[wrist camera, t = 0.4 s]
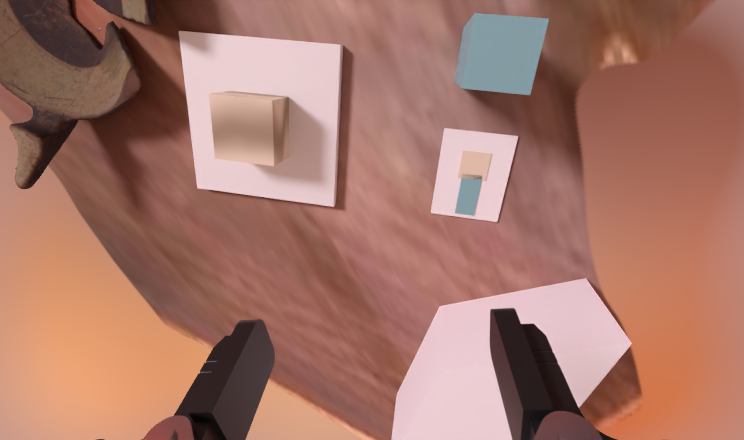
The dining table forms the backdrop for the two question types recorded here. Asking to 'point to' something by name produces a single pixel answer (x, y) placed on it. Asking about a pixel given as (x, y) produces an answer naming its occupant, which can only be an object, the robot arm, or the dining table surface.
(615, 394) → the dining table surface
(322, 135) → the build board
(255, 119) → the lower block
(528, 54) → the tall block
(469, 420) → the wide white block
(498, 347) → the robot arm
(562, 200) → the dining table surface
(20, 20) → the oil lamp
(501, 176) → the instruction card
